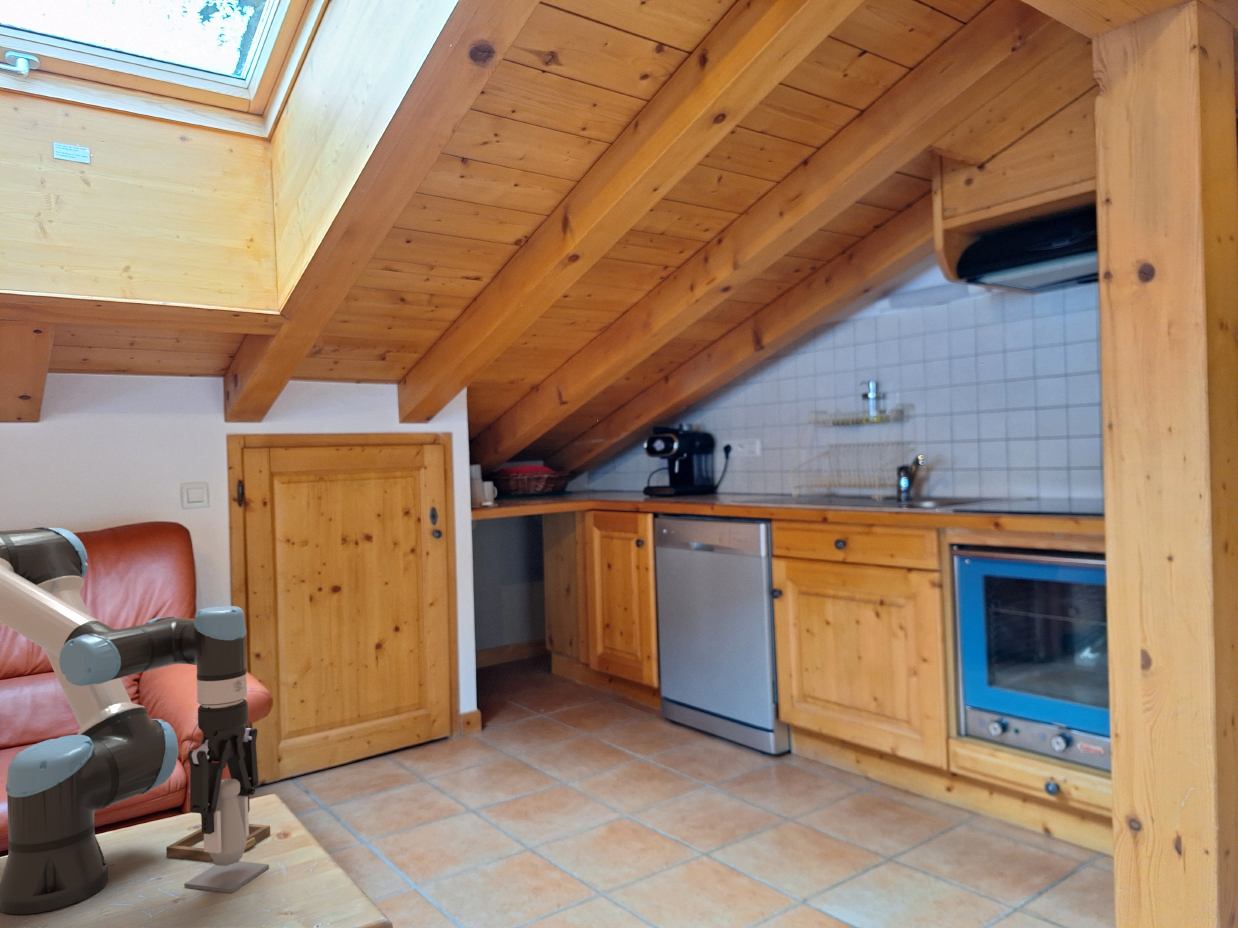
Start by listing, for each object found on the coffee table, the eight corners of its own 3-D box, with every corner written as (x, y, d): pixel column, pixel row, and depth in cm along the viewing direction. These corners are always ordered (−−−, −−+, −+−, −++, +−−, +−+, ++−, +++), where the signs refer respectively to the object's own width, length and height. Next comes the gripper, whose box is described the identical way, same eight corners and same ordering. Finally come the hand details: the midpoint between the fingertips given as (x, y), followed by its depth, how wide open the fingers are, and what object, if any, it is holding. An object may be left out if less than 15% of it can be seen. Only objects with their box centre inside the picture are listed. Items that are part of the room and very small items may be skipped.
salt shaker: (233, 869, 142) (230, 787, 142) (200, 867, 143) (198, 786, 143) (254, 853, 147) (251, 775, 148) (222, 851, 148) (220, 774, 148)
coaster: (184, 887, 142) (184, 883, 142) (224, 862, 151) (224, 859, 151) (231, 892, 139) (231, 888, 139) (268, 867, 148) (268, 864, 148)
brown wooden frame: (166, 856, 154) (166, 847, 154) (215, 828, 165) (215, 820, 165) (227, 862, 150) (226, 853, 150) (273, 834, 162) (272, 825, 162)
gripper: (199, 718, 135) (204, 870, 135) (279, 688, 153) (283, 822, 153) (159, 716, 137) (164, 865, 137) (242, 687, 155) (246, 819, 155)
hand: (227, 842), depth 145 cm, fingers closed on salt shaker, 6 cm apart
